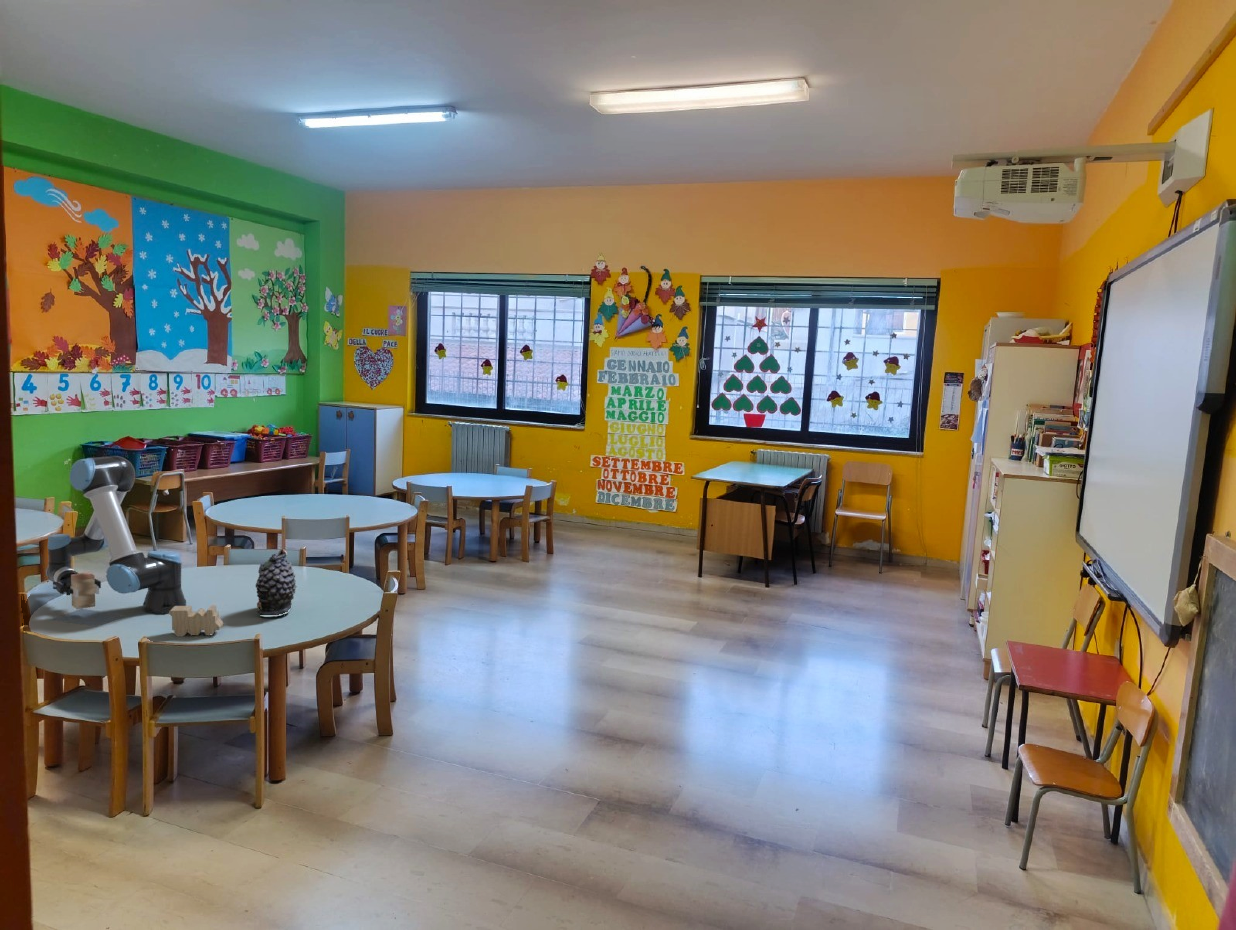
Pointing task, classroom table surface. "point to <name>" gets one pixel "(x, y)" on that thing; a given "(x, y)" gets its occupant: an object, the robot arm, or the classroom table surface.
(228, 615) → the classroom table surface
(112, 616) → the slate mat
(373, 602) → the classroom table surface
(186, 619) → the toy train
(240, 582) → the classroom table surface
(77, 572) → the robot arm
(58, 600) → the classroom table surface
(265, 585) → the dark pine cone
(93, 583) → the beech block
